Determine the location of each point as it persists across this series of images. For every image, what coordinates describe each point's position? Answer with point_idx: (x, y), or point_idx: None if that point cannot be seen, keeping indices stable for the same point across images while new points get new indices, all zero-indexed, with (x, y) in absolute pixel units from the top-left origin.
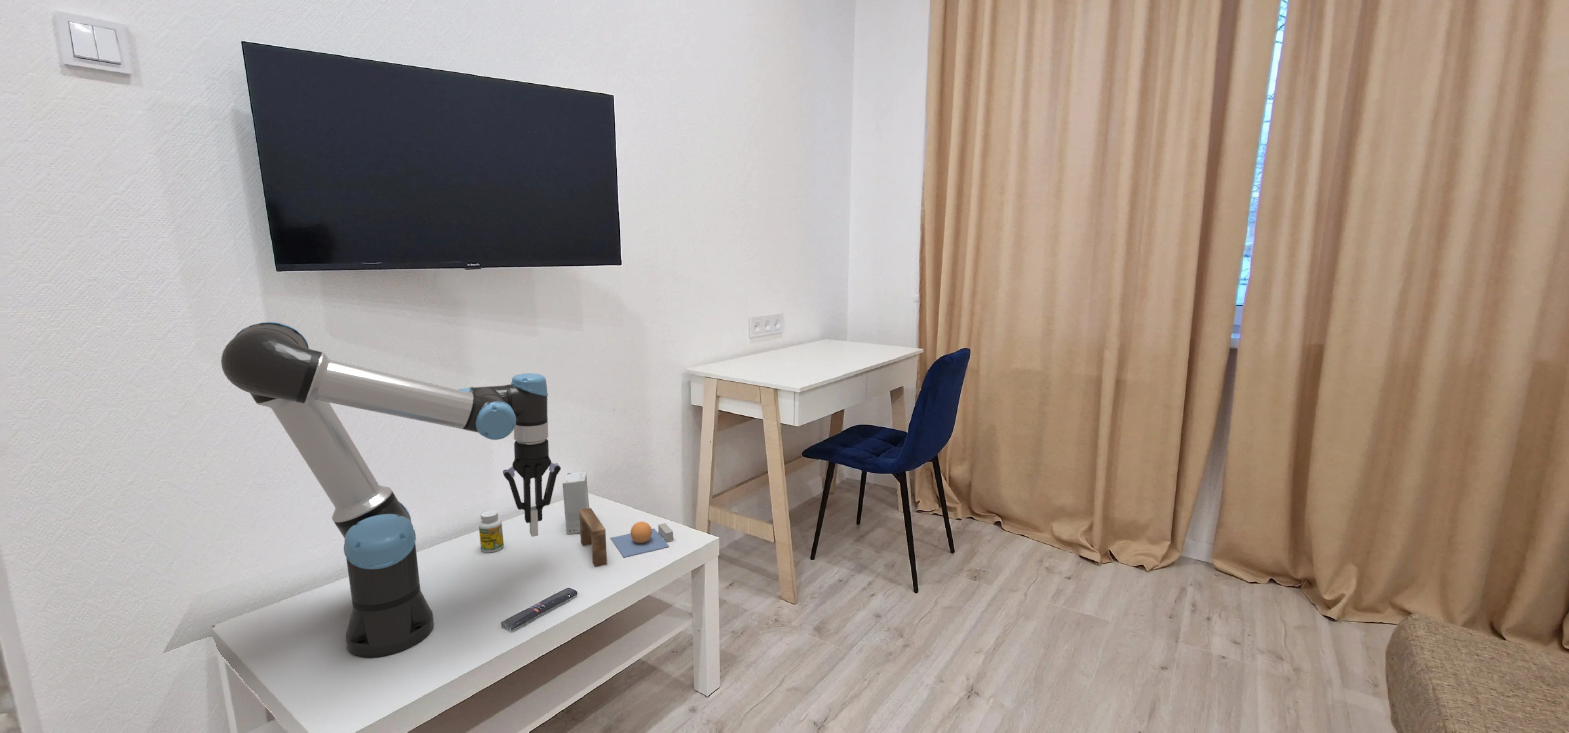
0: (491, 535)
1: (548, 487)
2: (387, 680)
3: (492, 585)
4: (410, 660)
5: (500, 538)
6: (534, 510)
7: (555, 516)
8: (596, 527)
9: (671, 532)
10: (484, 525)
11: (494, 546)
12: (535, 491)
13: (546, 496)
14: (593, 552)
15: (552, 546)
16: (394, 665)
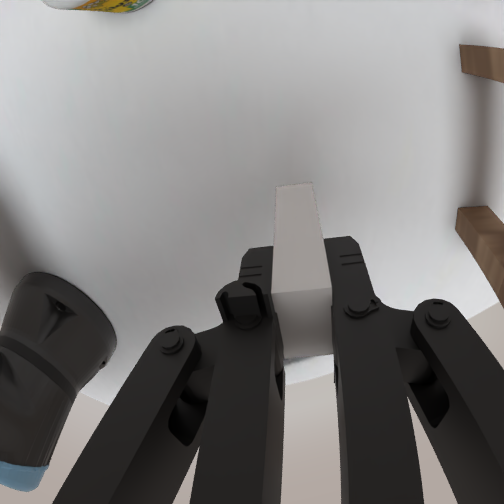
0: (100, 6)
1: (457, 499)
2: (116, 386)
3: (173, 226)
4: (122, 372)
5: None
6: (311, 355)
7: None
8: None
9: None
10: (50, 2)
11: (133, 6)
12: (344, 462)
13: (424, 428)
14: (474, 250)
15: (360, 17)
16: (108, 372)
